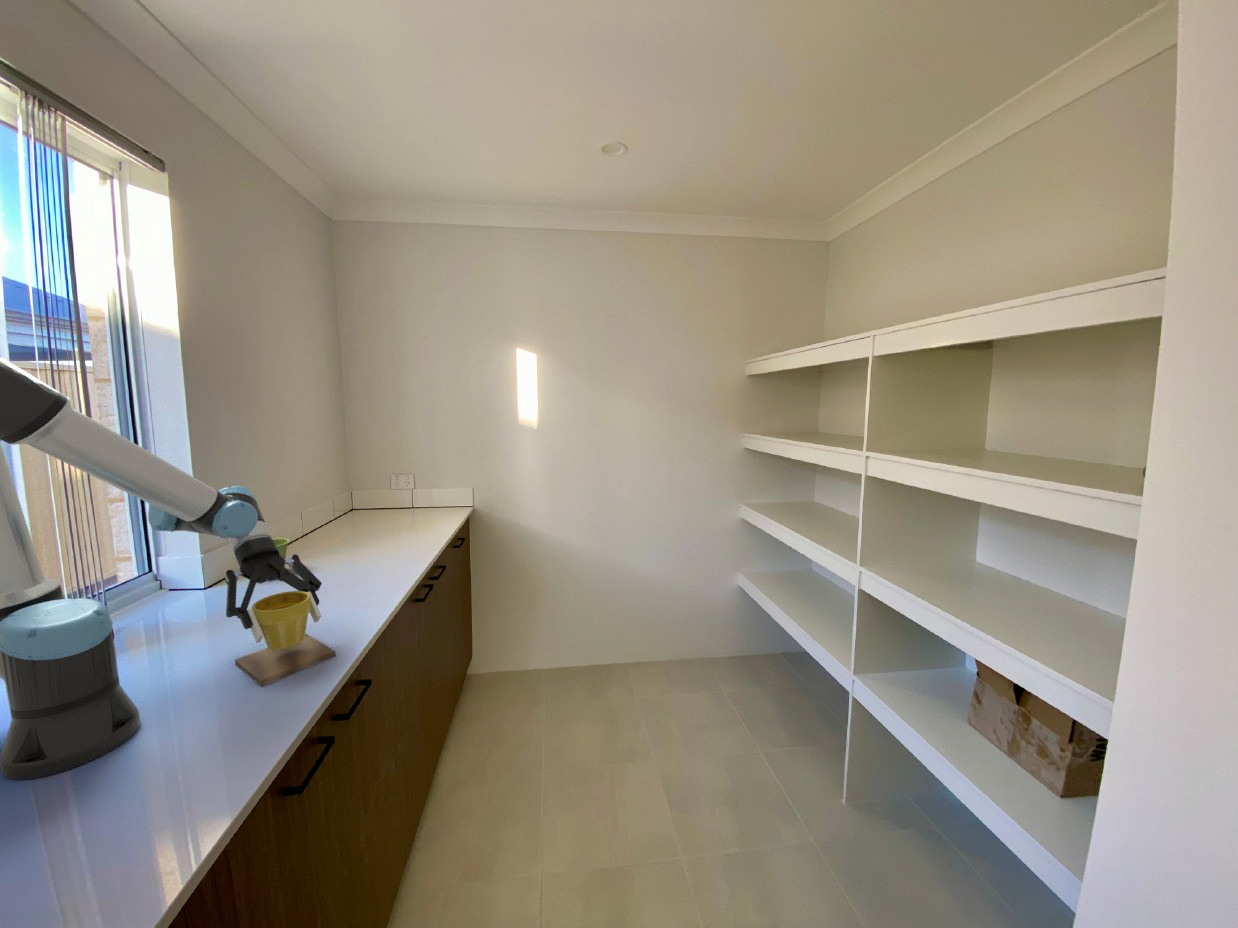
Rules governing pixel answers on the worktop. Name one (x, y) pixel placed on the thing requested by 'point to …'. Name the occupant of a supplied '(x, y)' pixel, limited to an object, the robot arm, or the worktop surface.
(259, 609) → the plant pot
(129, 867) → the worktop surface
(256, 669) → the walnut board
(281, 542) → the plant pot
